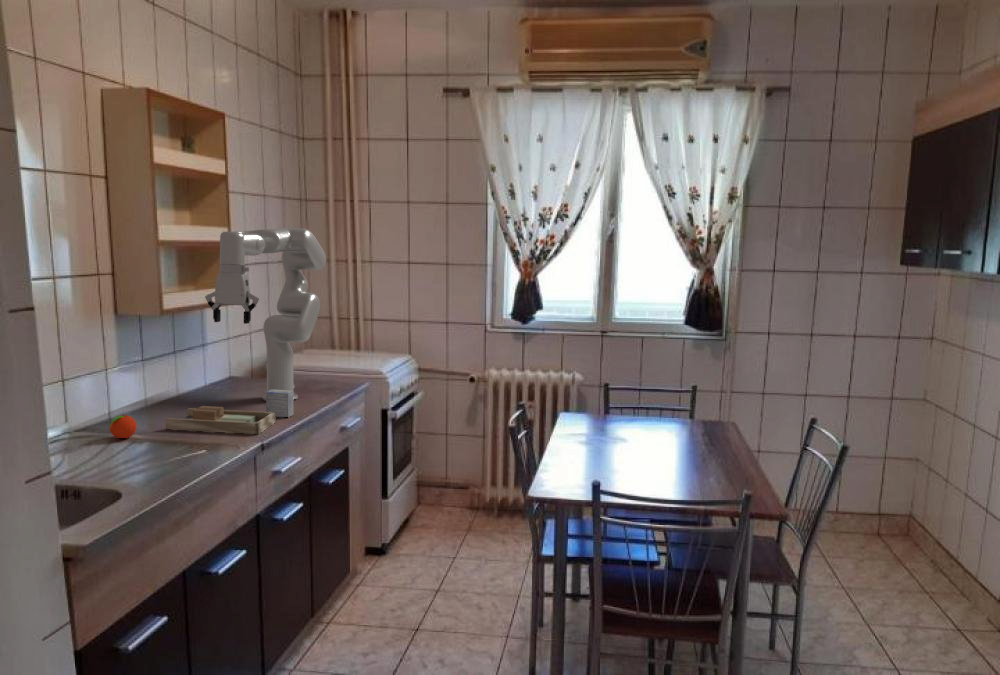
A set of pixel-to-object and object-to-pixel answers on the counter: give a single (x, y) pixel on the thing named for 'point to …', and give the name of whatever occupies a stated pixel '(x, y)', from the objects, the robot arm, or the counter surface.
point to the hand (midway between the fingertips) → (231, 322)
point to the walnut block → (208, 413)
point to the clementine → (123, 426)
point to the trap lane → (226, 422)
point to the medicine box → (280, 402)
